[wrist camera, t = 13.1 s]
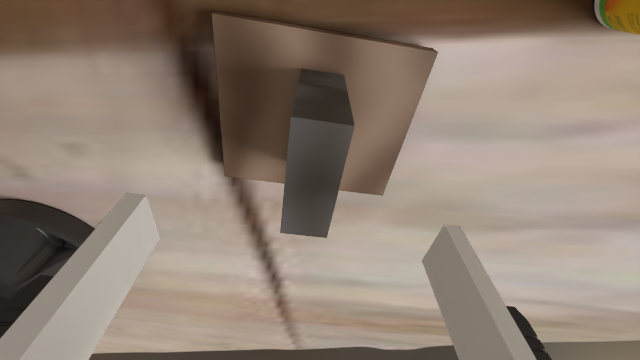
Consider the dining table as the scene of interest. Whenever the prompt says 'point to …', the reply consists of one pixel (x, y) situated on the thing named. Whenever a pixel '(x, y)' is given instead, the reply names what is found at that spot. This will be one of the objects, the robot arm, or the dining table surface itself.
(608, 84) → the dining table surface
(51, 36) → the dining table surface
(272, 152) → the walnut lid
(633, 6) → the supplement bottle
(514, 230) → the dining table surface
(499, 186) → the dining table surface
